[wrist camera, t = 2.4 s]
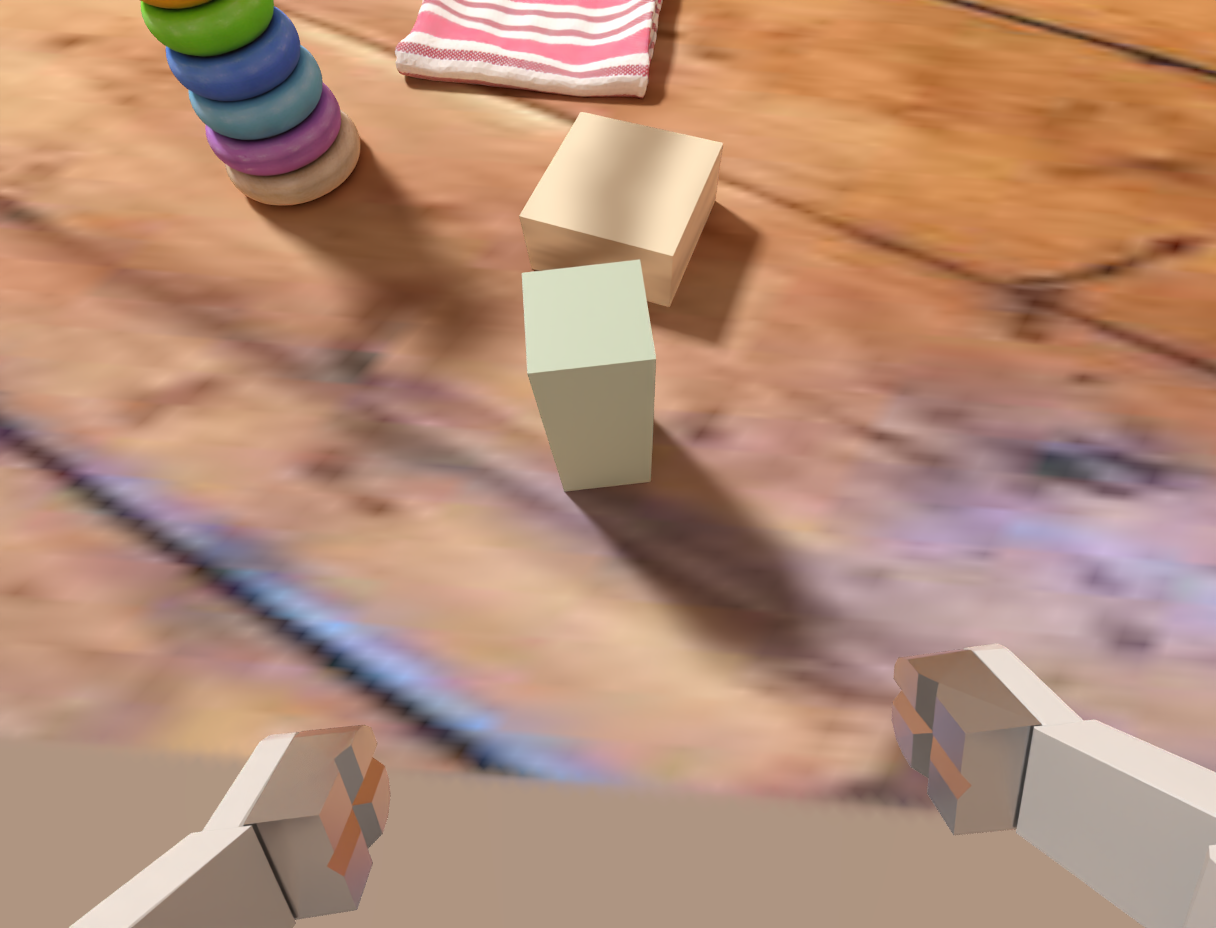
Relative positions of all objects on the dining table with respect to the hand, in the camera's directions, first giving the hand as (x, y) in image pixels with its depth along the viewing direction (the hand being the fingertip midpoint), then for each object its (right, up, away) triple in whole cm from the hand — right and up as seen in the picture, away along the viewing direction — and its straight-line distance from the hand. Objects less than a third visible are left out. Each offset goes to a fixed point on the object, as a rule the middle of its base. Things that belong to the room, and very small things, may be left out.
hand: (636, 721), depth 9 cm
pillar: (-1, +5, +19) cm, 20 cm away
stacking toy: (-19, +22, +28) cm, 41 cm away
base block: (+1, +17, +25) cm, 30 cm away
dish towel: (-4, +38, +35) cm, 52 cm away
